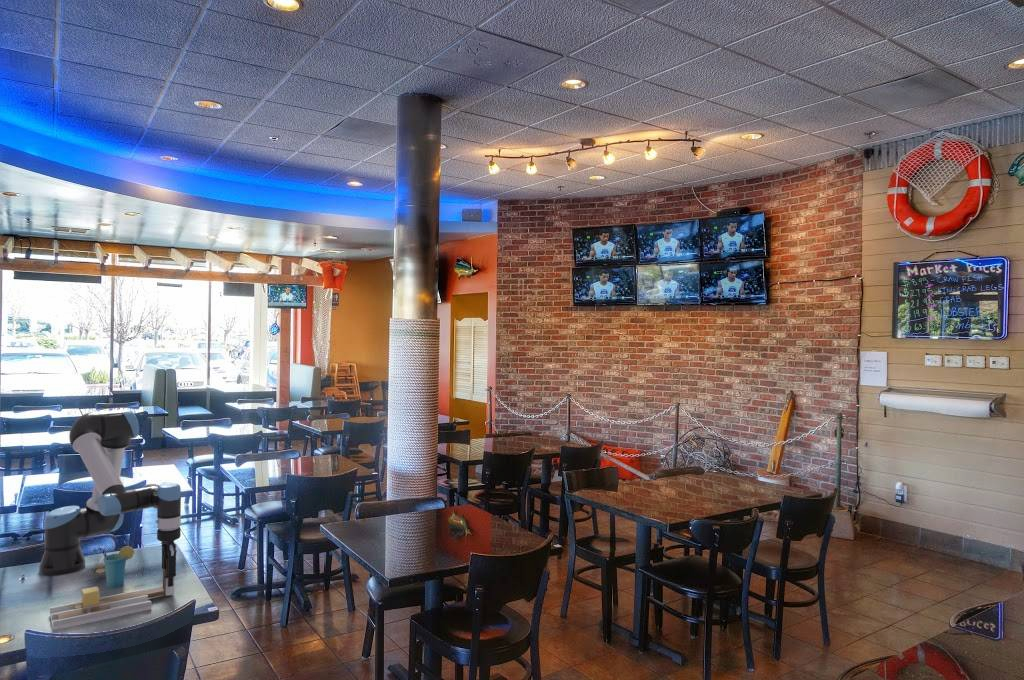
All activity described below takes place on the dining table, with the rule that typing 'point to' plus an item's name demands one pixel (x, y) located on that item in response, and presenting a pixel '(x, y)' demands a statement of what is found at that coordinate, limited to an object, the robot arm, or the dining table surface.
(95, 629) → the dining table surface
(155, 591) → the strip
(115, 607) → the lane board
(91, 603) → the cube
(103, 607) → the broken strip
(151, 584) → the dining table surface
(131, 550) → the cup
